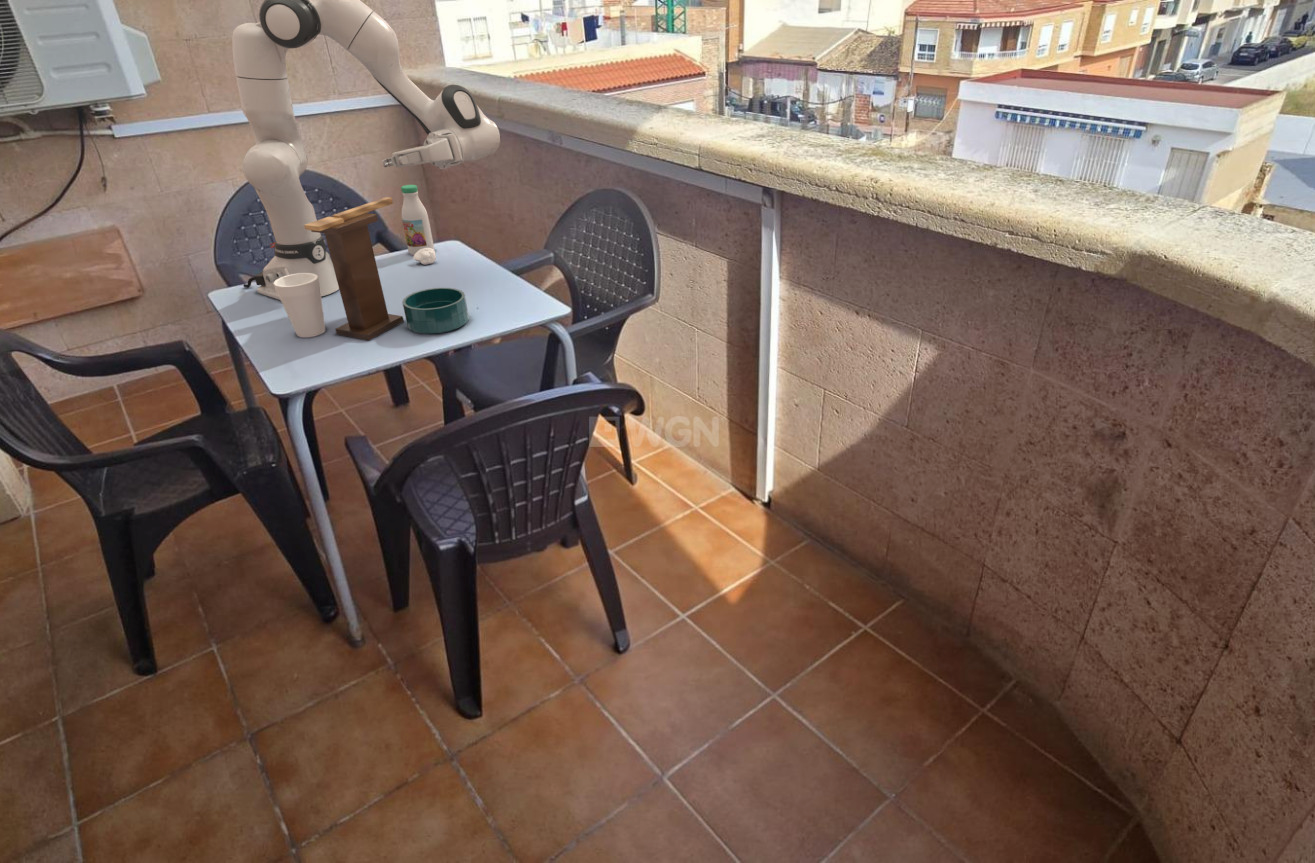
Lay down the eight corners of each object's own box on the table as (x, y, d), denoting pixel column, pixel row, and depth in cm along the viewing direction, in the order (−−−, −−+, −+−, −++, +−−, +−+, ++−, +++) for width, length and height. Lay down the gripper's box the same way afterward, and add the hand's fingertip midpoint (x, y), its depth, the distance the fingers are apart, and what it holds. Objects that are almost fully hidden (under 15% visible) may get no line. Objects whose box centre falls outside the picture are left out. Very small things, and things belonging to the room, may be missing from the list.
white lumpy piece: (439, 260, 220) (438, 248, 217) (433, 269, 216) (432, 257, 213) (417, 256, 220) (415, 244, 217) (410, 264, 216) (409, 253, 213)
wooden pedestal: (336, 334, 172) (306, 224, 159) (372, 316, 182) (346, 211, 168) (369, 340, 169) (340, 228, 155) (403, 321, 178) (380, 214, 165)
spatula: (383, 202, 174) (382, 196, 174) (397, 204, 173) (395, 198, 172) (305, 229, 156) (303, 223, 155) (319, 231, 154) (318, 224, 153)
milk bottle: (420, 247, 231) (407, 182, 221) (439, 250, 228) (427, 184, 218) (403, 254, 225) (389, 187, 215) (423, 257, 222) (409, 189, 212)
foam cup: (316, 341, 169) (301, 287, 163) (281, 338, 171) (264, 285, 164) (339, 325, 177) (325, 273, 171) (306, 323, 179) (290, 272, 172)
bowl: (395, 330, 173) (389, 304, 170) (433, 309, 185) (429, 284, 181) (444, 339, 168) (438, 312, 165) (480, 316, 180) (476, 291, 176)
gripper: (419, 140, 189) (370, 152, 181) (457, 132, 174) (404, 144, 166) (427, 165, 191) (379, 178, 184) (465, 159, 177) (414, 173, 169)
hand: (391, 162), depth 175 cm, fingers open, 8 cm apart
